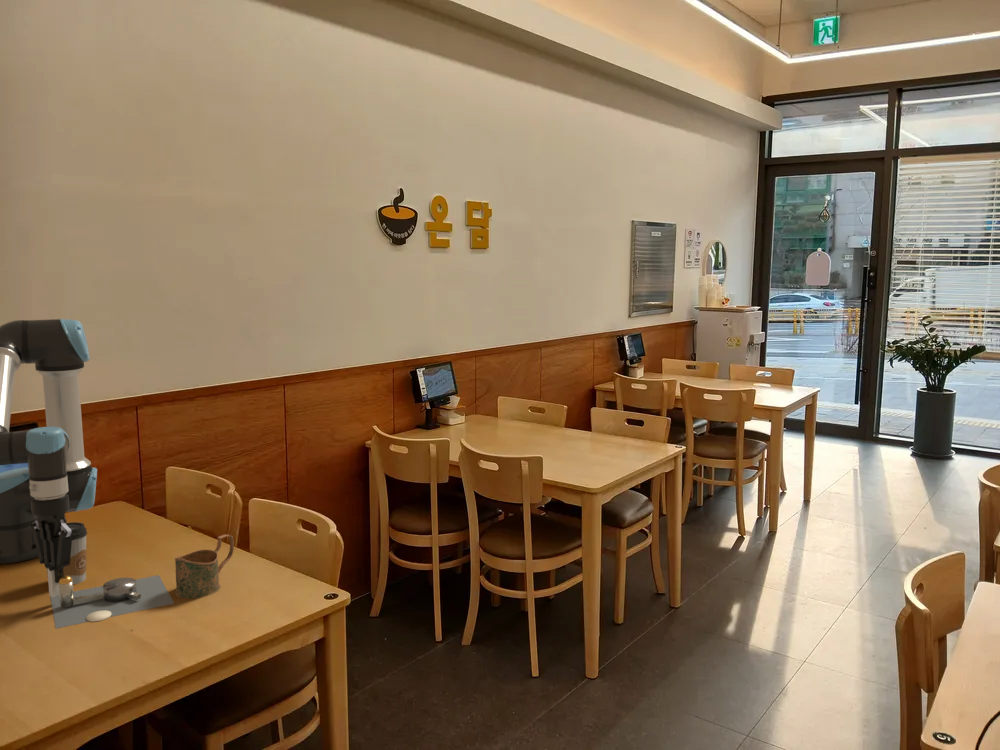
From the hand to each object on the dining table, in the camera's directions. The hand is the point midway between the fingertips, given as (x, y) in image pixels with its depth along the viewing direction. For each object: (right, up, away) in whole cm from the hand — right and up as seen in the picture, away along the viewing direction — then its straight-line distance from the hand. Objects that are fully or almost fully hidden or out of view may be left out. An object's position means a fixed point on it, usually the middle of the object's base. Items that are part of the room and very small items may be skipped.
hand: (57, 594), depth 180 cm
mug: (+30, -2, +12) cm, 33 cm away
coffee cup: (-4, -2, +14) cm, 15 cm away
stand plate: (+11, -3, +3) cm, 12 cm away
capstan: (+9, -2, +2) cm, 9 cm away
